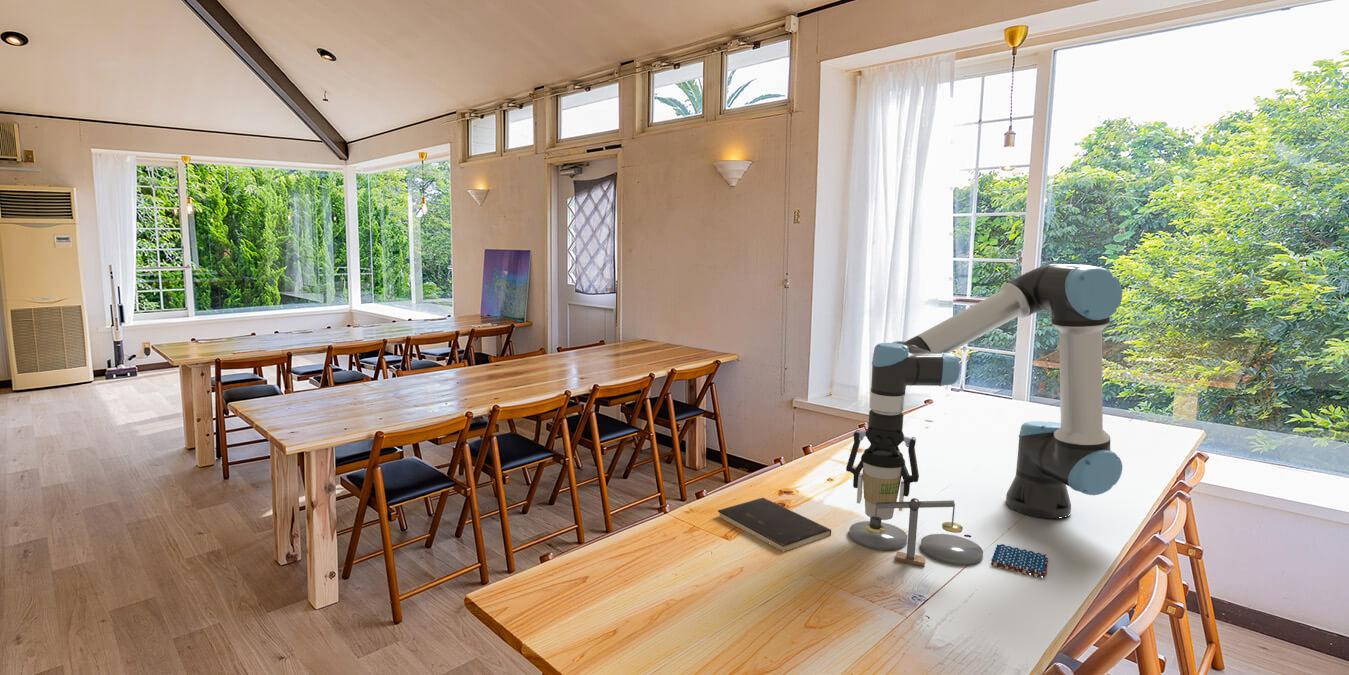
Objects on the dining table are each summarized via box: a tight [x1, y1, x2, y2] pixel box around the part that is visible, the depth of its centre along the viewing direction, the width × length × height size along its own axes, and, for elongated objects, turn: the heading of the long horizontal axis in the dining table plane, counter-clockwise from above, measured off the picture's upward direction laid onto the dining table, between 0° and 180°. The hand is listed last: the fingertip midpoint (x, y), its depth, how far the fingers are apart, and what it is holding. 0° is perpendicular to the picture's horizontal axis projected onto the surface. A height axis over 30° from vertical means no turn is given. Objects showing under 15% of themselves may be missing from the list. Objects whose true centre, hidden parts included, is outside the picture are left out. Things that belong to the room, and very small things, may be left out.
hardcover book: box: [717, 497, 832, 552], centre depth 163 cm, size 16×23×2 cm
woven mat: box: [990, 543, 1049, 577], centre depth 147 cm, size 10×11×2 cm
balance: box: [866, 497, 964, 568], centre depth 146 cm, size 20×4×15 cm, turn 66°
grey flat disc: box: [920, 533, 984, 566], centre depth 152 cm, size 13×13×1 cm
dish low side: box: [849, 520, 908, 551], centre depth 158 cm, size 13×13×1 cm
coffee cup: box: [860, 447, 906, 521], centre depth 156 cm, size 10×10×15 cm
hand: (879, 504), depth 157 cm, fingers closed on coffee cup, 9 cm apart
